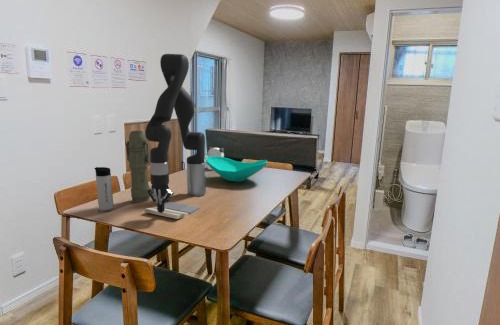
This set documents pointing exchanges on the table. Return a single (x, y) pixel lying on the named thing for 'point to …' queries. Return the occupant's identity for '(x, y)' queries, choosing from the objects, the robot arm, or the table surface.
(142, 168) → the olive green canister
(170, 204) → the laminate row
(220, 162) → the table top decor
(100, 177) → the travel mug
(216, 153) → the panda figurine
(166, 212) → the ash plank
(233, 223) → the table surface
